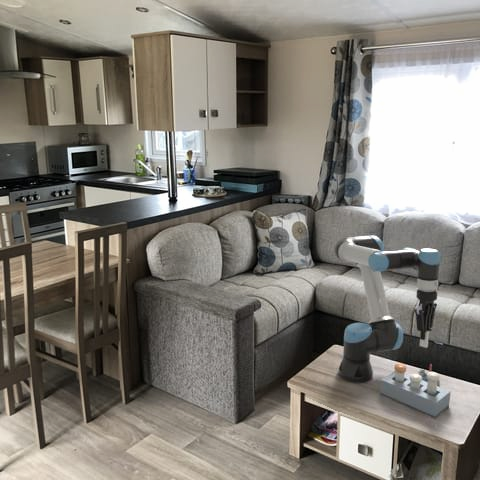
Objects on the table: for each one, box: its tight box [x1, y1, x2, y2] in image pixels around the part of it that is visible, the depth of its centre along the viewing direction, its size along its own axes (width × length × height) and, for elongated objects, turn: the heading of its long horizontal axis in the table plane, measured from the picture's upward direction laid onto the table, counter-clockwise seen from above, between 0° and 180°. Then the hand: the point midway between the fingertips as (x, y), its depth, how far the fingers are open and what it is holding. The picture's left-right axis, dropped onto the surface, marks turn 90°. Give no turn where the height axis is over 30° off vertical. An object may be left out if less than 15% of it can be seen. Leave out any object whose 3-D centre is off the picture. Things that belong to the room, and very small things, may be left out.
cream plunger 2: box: [427, 371, 440, 397], centre depth 200 cm, size 5×5×9 cm
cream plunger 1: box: [409, 373, 422, 390], centre depth 205 cm, size 5×5×9 cm
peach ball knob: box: [394, 363, 407, 383], centre depth 210 cm, size 5×5×9 cm
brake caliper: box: [418, 363, 441, 387], centre depth 217 cm, size 11×11×12 cm
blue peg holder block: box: [379, 370, 451, 420], centre depth 206 cm, size 24×12×7 cm, turn 43°
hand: (423, 346), depth 199 cm, fingers closed
